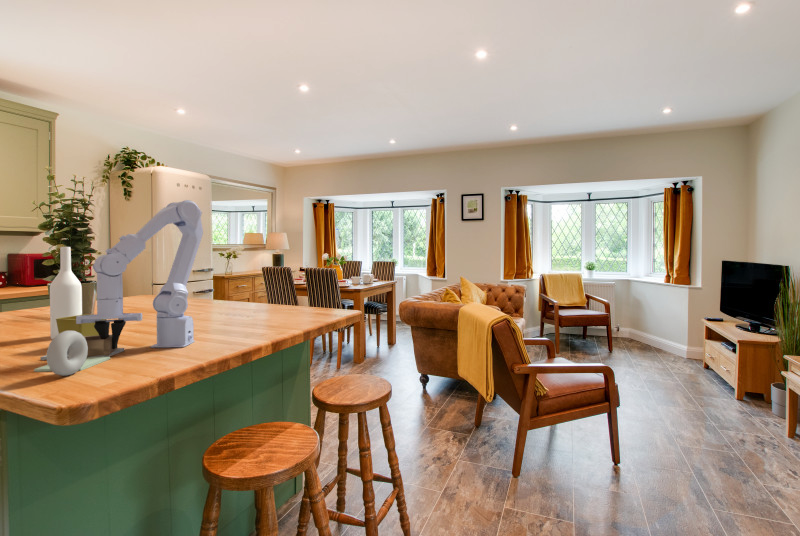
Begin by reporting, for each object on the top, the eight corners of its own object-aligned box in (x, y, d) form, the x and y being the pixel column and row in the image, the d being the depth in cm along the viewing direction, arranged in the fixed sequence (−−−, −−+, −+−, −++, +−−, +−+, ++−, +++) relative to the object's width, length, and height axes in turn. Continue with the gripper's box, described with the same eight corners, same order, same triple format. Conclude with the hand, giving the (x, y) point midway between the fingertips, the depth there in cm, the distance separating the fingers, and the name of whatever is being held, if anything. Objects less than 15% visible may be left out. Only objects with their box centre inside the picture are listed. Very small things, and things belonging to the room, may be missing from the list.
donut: (76, 369, 95) (75, 327, 95) (91, 368, 95) (91, 326, 95) (42, 381, 85) (41, 334, 85) (59, 381, 85) (59, 334, 85)
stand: (124, 350, 114) (124, 335, 114) (102, 359, 104) (102, 342, 104) (67, 351, 113) (67, 336, 112) (40, 360, 103) (40, 343, 103)
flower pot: (80, 350, 114) (79, 319, 114) (55, 349, 116) (54, 318, 116) (108, 344, 123) (108, 315, 122) (84, 343, 124) (84, 314, 124)
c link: (117, 348, 113) (117, 334, 113) (109, 354, 105) (109, 339, 105) (82, 350, 110) (82, 336, 110) (71, 357, 102) (71, 342, 102)
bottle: (56, 341, 126) (54, 246, 126) (46, 338, 131) (44, 246, 130) (86, 337, 133) (85, 247, 133) (76, 335, 137) (75, 247, 137)
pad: (110, 359, 104) (110, 356, 104) (80, 370, 93) (80, 368, 93) (69, 359, 103) (69, 357, 103) (34, 371, 92) (34, 369, 92)
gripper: (144, 296, 115) (144, 343, 116) (82, 298, 110) (82, 347, 110) (139, 298, 109) (139, 348, 109) (73, 300, 103) (73, 353, 103)
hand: (110, 348), depth 109 cm, fingers closed on c link
